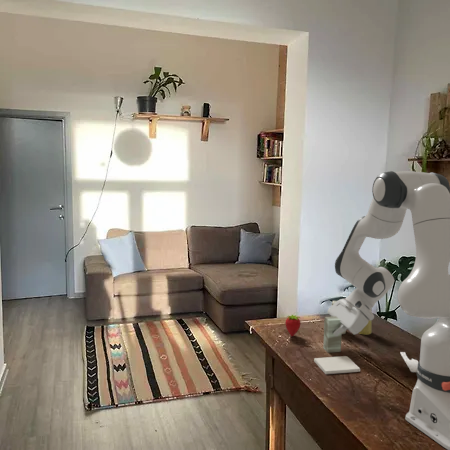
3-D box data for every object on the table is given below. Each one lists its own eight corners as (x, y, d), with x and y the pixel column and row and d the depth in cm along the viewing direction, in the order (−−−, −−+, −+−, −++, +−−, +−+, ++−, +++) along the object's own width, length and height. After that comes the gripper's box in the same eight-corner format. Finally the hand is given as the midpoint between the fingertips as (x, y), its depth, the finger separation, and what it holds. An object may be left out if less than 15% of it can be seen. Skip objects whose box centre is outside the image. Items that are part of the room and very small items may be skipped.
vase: (372, 335, 180) (374, 300, 179) (356, 334, 182) (357, 299, 180) (370, 330, 186) (372, 296, 184) (355, 328, 188) (356, 295, 186)
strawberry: (299, 333, 182) (300, 309, 181) (300, 340, 175) (301, 315, 173) (284, 332, 183) (285, 308, 181) (285, 339, 175) (285, 314, 174)
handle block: (340, 351, 164) (342, 319, 163) (327, 352, 163) (328, 320, 162) (336, 347, 168) (337, 316, 167) (323, 348, 167) (324, 316, 166)
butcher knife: (415, 355, 163) (415, 352, 163) (426, 374, 148) (427, 371, 148) (400, 354, 164) (400, 351, 163) (410, 372, 149) (410, 369, 149)
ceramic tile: (360, 371, 149) (360, 368, 148) (325, 374, 146) (325, 371, 146) (346, 358, 158) (346, 356, 158) (314, 361, 156) (314, 358, 156)
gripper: (339, 291, 175) (314, 316, 174) (365, 307, 155) (337, 336, 154) (350, 301, 176) (325, 327, 176) (376, 319, 156) (348, 348, 156)
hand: (331, 331), depth 165 cm, fingers closed on handle block, 4 cm apart
